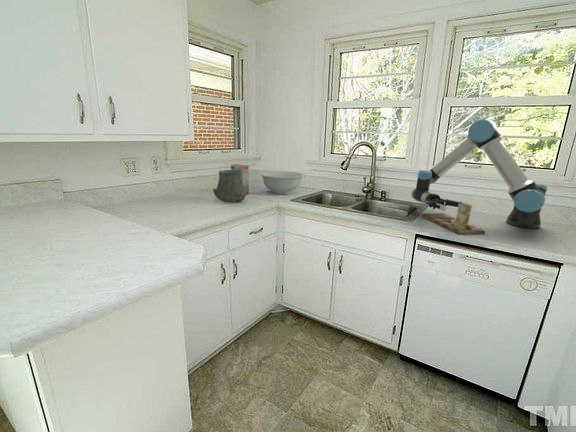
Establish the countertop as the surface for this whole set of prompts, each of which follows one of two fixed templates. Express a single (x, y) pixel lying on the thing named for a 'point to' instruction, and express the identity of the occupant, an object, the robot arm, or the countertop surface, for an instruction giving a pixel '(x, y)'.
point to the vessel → (230, 186)
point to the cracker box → (243, 175)
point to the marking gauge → (463, 216)
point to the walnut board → (446, 222)
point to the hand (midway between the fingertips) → (456, 208)
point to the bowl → (281, 181)
